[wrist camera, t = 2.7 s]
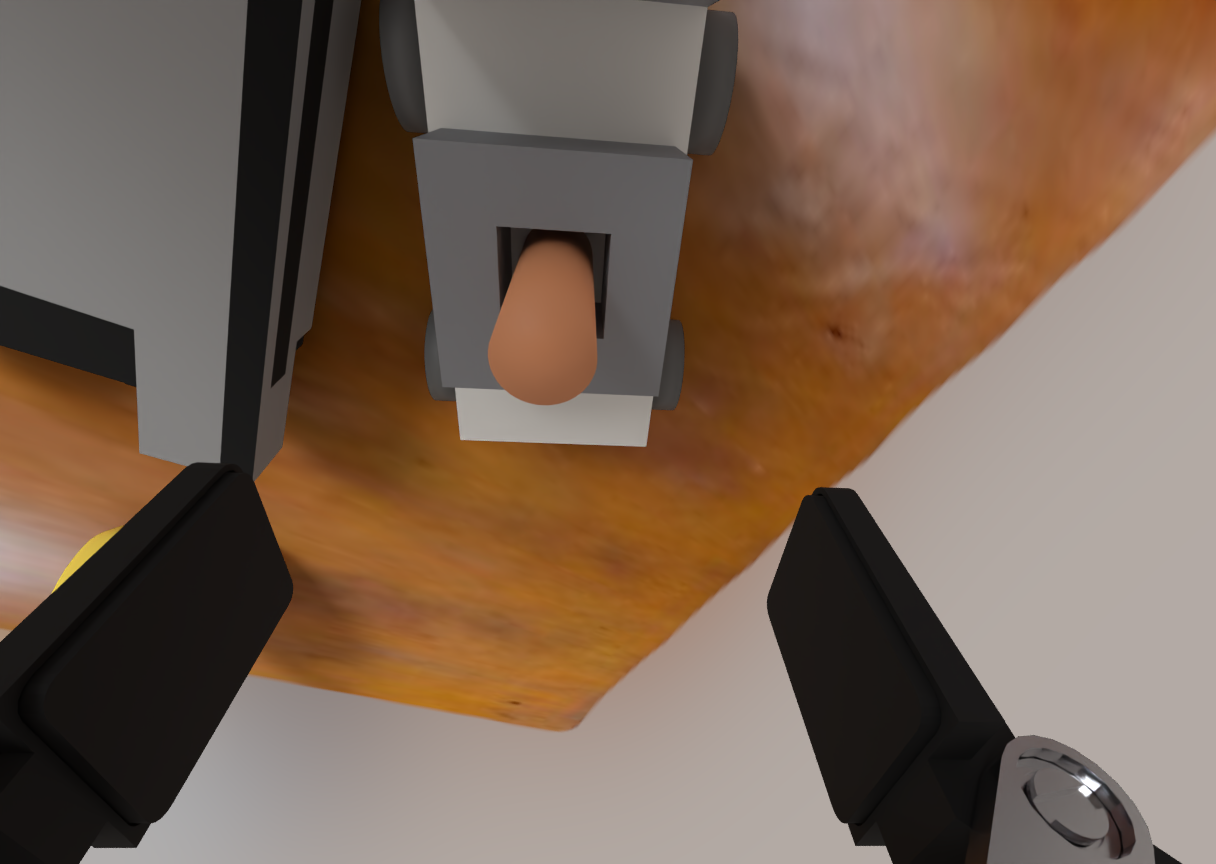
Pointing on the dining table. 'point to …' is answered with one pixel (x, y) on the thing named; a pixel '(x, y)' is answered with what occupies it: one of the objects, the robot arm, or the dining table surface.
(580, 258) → the pin
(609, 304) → the ramp trolley
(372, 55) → the dining table surface
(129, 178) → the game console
